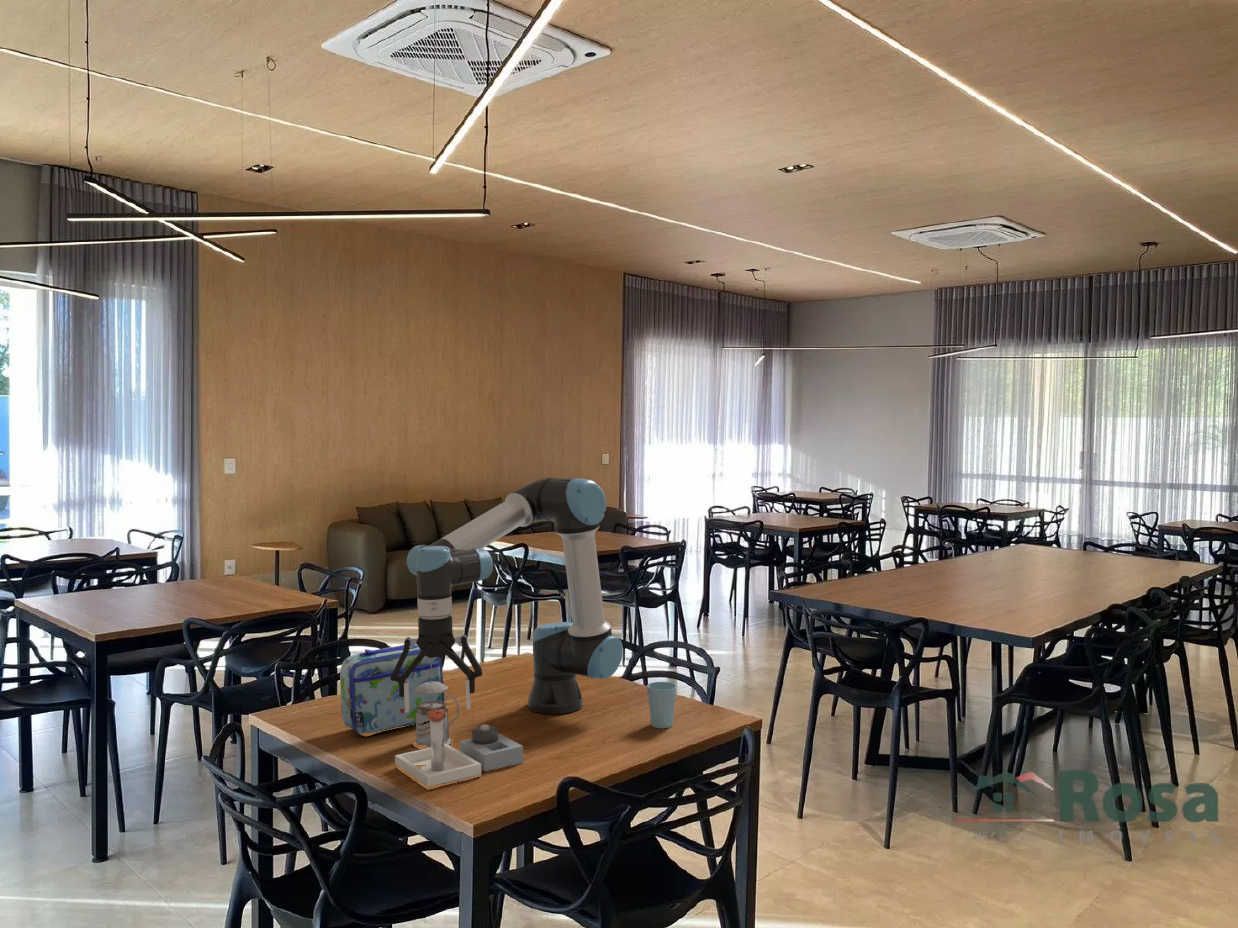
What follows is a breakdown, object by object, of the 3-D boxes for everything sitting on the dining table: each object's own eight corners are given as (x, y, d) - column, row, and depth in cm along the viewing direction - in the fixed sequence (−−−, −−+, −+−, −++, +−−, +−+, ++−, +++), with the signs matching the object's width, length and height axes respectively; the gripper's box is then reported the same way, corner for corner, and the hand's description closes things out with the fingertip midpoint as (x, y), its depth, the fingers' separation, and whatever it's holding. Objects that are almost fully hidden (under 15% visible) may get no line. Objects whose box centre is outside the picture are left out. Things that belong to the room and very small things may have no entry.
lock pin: (425, 768, 217) (424, 710, 217) (441, 764, 220) (440, 707, 219) (433, 773, 214) (432, 715, 213) (449, 769, 216) (448, 711, 216)
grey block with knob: (460, 757, 226) (459, 726, 226) (497, 749, 232) (497, 718, 232) (484, 772, 217) (484, 740, 216) (523, 762, 223) (522, 731, 222)
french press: (417, 737, 242) (415, 638, 241) (463, 737, 242) (461, 638, 240) (407, 750, 232) (405, 647, 231) (455, 750, 232) (453, 647, 231)
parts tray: (395, 768, 220) (395, 755, 220) (446, 756, 228) (446, 743, 227) (427, 790, 206) (427, 776, 206) (481, 777, 214) (481, 763, 214)
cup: (682, 727, 248) (681, 687, 247) (655, 731, 245) (655, 690, 244) (668, 719, 255) (668, 680, 254) (642, 723, 252) (642, 683, 251)
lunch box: (352, 742, 238) (350, 658, 237) (337, 731, 247) (335, 650, 246) (448, 722, 254) (446, 643, 253) (430, 712, 262) (429, 636, 261)
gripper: (375, 621, 210) (379, 717, 211) (490, 616, 213) (493, 711, 214) (380, 614, 218) (383, 706, 219) (491, 609, 221) (494, 700, 222)
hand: (437, 709), depth 217 cm, fingers open, 13 cm apart
